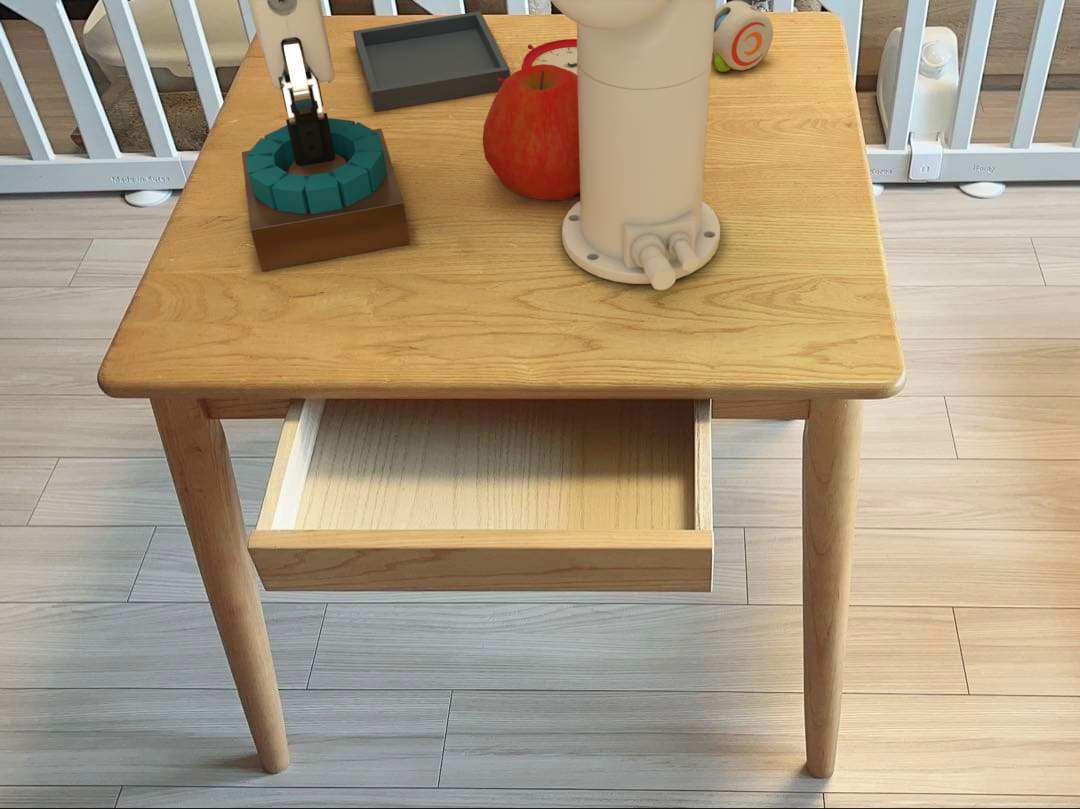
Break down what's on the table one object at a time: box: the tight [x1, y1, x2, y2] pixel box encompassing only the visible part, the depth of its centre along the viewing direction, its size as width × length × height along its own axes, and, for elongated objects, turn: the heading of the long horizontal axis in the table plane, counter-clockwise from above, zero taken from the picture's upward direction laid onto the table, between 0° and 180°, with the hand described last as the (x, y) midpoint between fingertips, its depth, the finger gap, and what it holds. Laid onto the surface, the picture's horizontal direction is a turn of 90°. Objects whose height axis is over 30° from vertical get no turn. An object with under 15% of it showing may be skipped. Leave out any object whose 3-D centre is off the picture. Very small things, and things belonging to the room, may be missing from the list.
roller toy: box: [712, 0, 774, 73], centre depth 109 cm, size 4×6×6 cm
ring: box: [246, 117, 387, 214], centre depth 91 cm, size 11×11×2 cm
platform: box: [241, 128, 411, 272], centre depth 93 cm, size 12×12×5 cm
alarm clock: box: [498, 38, 577, 83], centre depth 105 cm, size 10×6×15 cm
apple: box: [482, 64, 580, 201], centre depth 93 cm, size 10×10×10 cm
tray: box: [352, 10, 511, 112], centre depth 112 cm, size 13×13×2 cm
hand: (310, 134), depth 94 cm, fingers open, 8 cm apart
